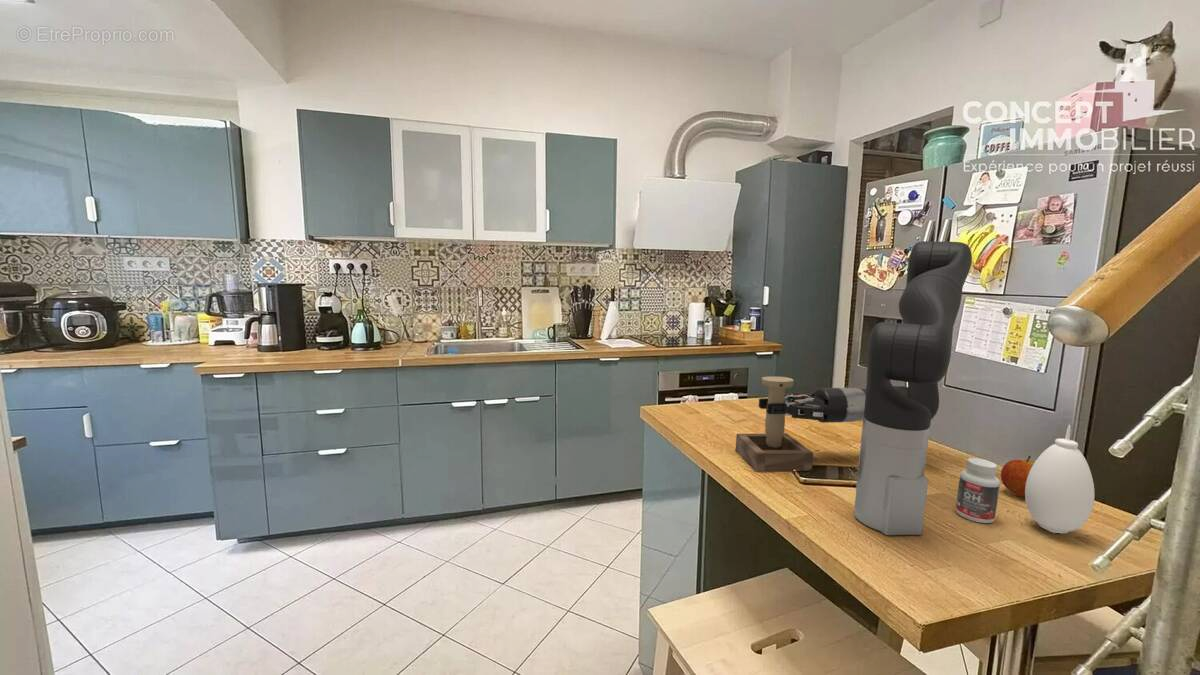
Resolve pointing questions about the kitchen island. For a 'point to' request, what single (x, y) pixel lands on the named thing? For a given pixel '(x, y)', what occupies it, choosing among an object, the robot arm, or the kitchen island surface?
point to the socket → (773, 453)
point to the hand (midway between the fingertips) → (763, 406)
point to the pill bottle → (978, 491)
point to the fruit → (1016, 475)
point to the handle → (775, 421)
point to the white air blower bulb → (1060, 487)
